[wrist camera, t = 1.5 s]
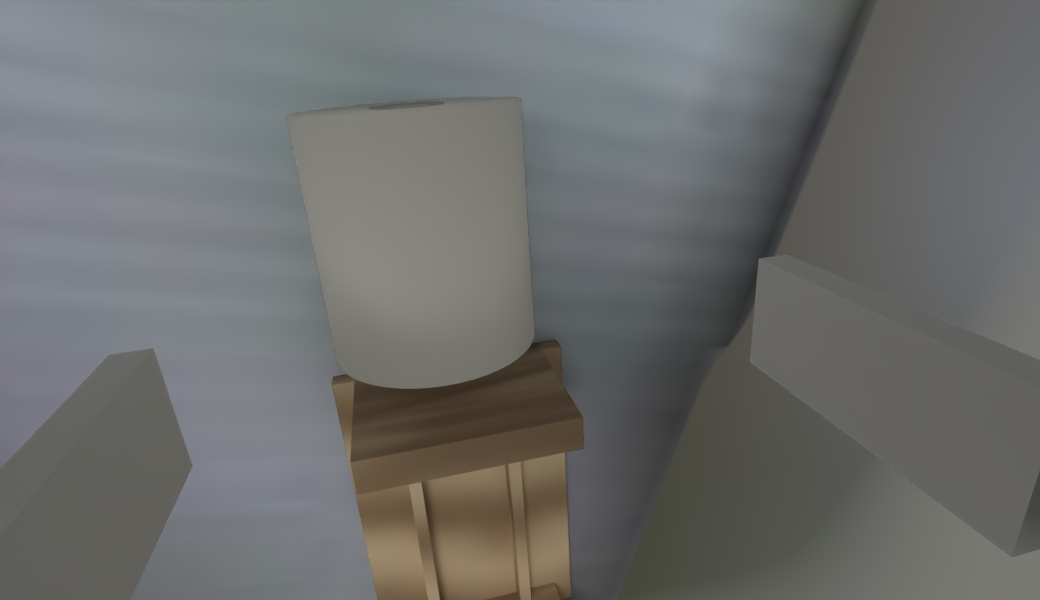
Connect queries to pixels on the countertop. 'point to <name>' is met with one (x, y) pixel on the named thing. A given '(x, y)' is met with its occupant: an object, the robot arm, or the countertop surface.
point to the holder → (465, 481)
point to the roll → (419, 236)
